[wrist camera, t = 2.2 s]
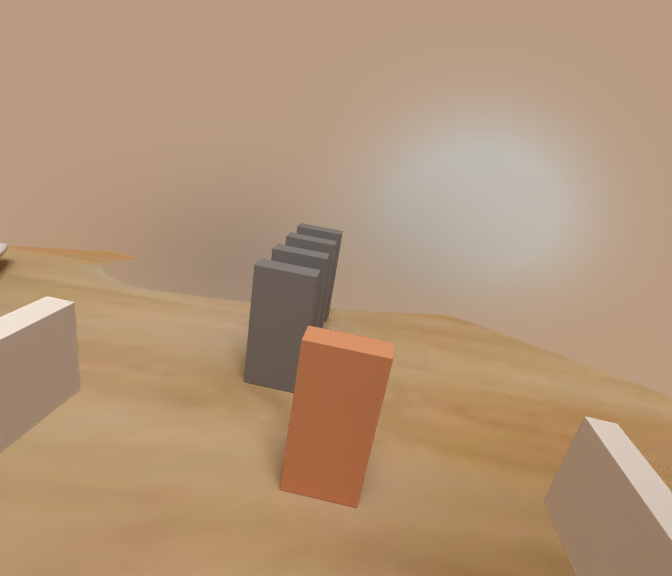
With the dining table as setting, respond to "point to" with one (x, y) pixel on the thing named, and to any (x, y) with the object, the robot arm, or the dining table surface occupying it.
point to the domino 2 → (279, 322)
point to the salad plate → (3, 249)
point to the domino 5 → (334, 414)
